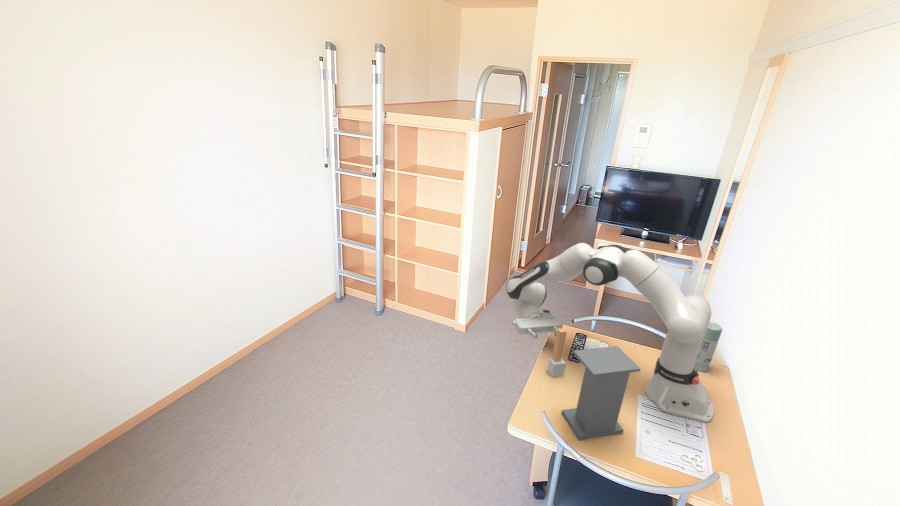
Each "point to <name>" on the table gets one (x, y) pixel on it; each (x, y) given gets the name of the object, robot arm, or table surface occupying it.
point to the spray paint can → (708, 347)
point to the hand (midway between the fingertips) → (546, 335)
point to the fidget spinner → (694, 462)
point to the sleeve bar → (557, 355)
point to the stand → (600, 392)
